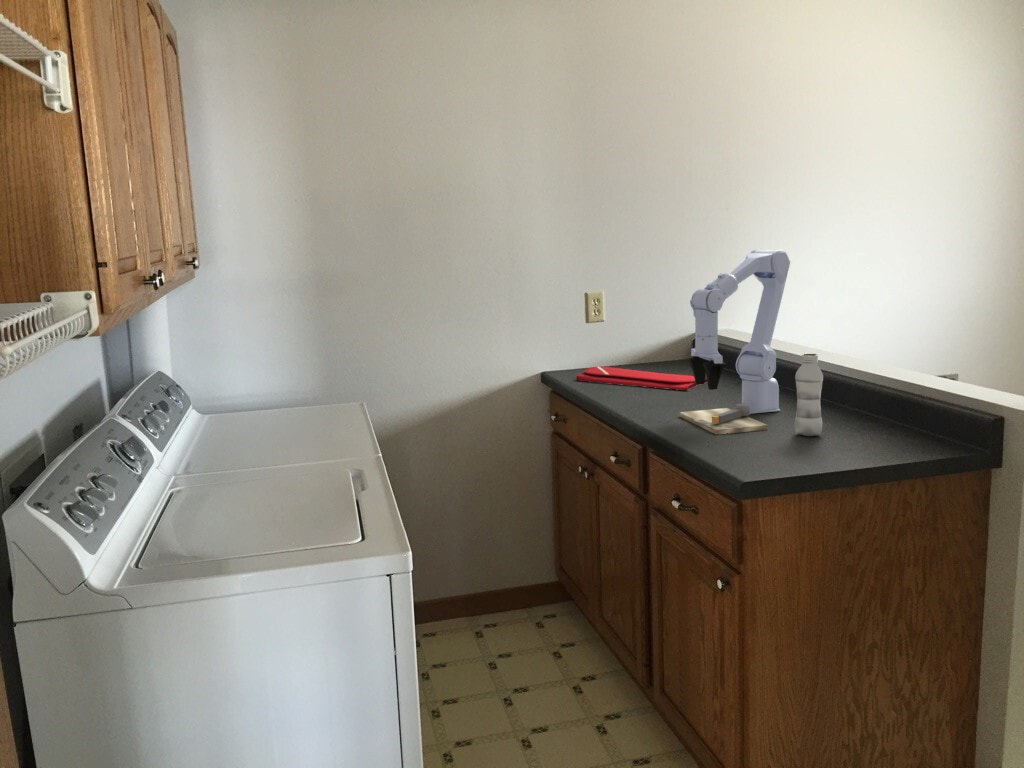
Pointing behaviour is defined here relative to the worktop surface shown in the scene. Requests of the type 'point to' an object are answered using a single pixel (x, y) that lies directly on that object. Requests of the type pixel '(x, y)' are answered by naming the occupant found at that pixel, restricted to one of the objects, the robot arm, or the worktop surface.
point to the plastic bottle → (808, 397)
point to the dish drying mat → (637, 378)
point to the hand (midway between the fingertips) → (706, 386)
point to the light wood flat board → (731, 426)
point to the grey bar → (732, 414)
